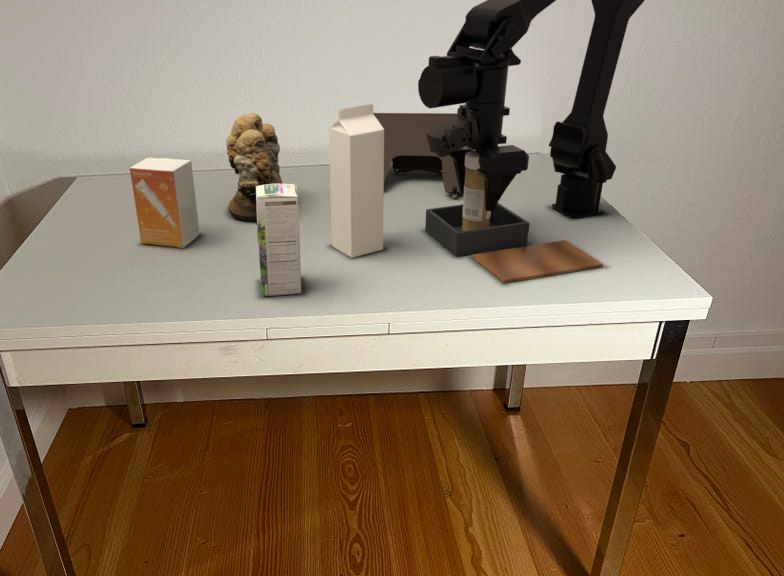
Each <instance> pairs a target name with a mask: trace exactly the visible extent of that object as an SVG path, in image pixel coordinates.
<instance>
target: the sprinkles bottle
mask: <svg viewBox="0 0 784 576" xmlns="http://www.w3.org/2000/svg"><path fill="white" fill-rule="evenodd" d="M465 169H466V172H465V185H464V195H463V197H462V199H463V200H462V204H463V214H462V216H463V222H462V231H468V230H474V229H481V228H488V227H489V223H490V215H491V211H486V210H485V191H484V178H483V176H482V175H481V174H480V173H479V172H478V171H477V169H480V165H479V153H477V152H475V151H471V152H468V153H467V154H466V155H465Z"/></svg>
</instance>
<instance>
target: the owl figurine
mask: <svg viewBox="0 0 784 576" xmlns="http://www.w3.org/2000/svg"><path fill="white" fill-rule="evenodd" d="M230 129H231V130H230V131H231V132H230V134H229V135H228V136H227V138H226V140H225V141H226V144H225V145H226V155H227V156H228V163H229V166H230V168H231V169H233V170H234V174H235V175H239V178H238V181H237V190H236V192H235V195H234V196H233V197H232V198H231V199H230V201H229V203H228V212H229V213H230V215H231V216H232V217H233V218H235V219H240V220H241V221H245V220H257V205H256V186H260V185H266V184H284V183H283V180H282V176H281V174H280V173H281V172H280V169H281V168H280V164H279V154H280V151H281V147H280V144H279V139H278V138H279V137H278V136H277V134H276V129H275V126H274V125H272V124H270V123H263V119H262V117H261V116H260V115H259V113H256V112H250V113H244V114H242V115H241V116H239V117H237V118H236V119H235V120H234V122H233V125H232V127H231V128H230ZM251 195H254V196H251Z"/></svg>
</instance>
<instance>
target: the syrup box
mask: <svg viewBox="0 0 784 576" xmlns="http://www.w3.org/2000/svg"><path fill="white" fill-rule="evenodd" d="M255 195H256V205H257V219H256V231H257V232H256V233H257V234H256V235H257V248H258V249H257V250H258V261H259V262H258V263H259V264H258V265H259V276H260V277H259V278H260V288H261V289H260V292H261V296H262V297H272V296H287V295H297V294H302V270H301V269H302V267H301V246H300V245H301V241H300V239H301V238H300V212H299V195H298V188H297V185H296V184H294V183H283V184H266V185H260V186H256V194H255Z"/></svg>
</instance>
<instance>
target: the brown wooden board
mask: <svg viewBox="0 0 784 576" xmlns="http://www.w3.org/2000/svg"><path fill="white" fill-rule="evenodd" d="M471 258H472V259H473V260H474V261H475V262H476V263H478V264H479V265H480V266H481V267H482V268H484V269H485V270H486V271H487V272H488V273H490V274H491V275H492V276H494V277H495V278H496V279H498V280H499V281H500V282H501V283H502V284H508V283H514V282H520V281H526V280H532V279H538V278H544V277H550V276H556V275H561V274H568V273H575V272H580V271H585V270H586V271H587V270H593V269H598V268H603V267H604V263H602V262H601V261H599V260H597V259H596V258H594V257H593V256H591V255H589V254H588V253H586V252H585V251H583V250H582V249H580V248H578V247H577V246H575V245H573V244H572V243H570V242H569V241H567V240H565V239H564V240H558V241H551V242H545V243H538V244H532V245H527V246H521V247H515V248H509V249H502V250H496V251H489V252H483V253H477V254H471Z"/></svg>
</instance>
